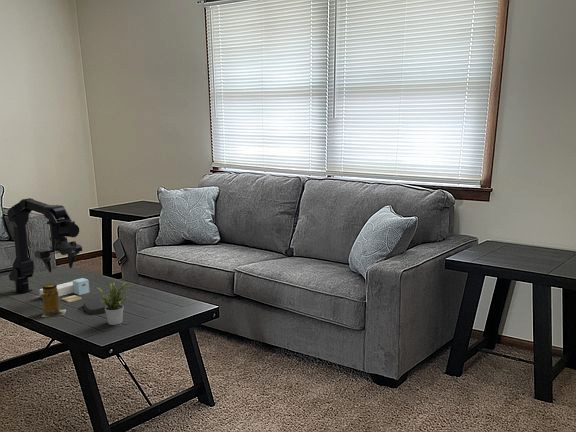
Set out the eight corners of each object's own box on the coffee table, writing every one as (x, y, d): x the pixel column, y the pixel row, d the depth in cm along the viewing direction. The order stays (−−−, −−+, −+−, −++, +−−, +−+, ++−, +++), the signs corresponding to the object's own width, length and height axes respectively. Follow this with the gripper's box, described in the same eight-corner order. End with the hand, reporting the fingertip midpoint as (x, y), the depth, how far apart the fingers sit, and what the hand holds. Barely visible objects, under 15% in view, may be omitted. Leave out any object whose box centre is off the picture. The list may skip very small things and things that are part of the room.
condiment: (44, 311, 225) (42, 283, 223) (66, 309, 227) (64, 282, 225) (41, 317, 218) (38, 288, 216) (63, 315, 220) (61, 287, 218)
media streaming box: (89, 316, 220) (88, 309, 220) (82, 306, 233) (81, 299, 232) (125, 309, 228) (125, 302, 227) (117, 300, 240) (116, 293, 240)
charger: (71, 292, 251) (70, 279, 250) (81, 289, 255) (80, 277, 254) (79, 295, 246) (78, 282, 245) (89, 292, 250) (88, 279, 249)
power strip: (26, 300, 239) (26, 292, 239) (79, 286, 258) (78, 279, 258) (36, 304, 234) (35, 296, 233) (89, 290, 253) (88, 282, 253)
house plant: (144, 322, 212) (141, 281, 209) (111, 332, 202) (109, 290, 199) (124, 314, 222) (121, 275, 219) (92, 323, 211) (89, 282, 209)
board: (61, 299, 240) (61, 298, 240) (74, 296, 244) (74, 295, 244) (69, 302, 236) (68, 301, 236) (81, 299, 241) (81, 297, 241)
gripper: (45, 241, 222) (48, 278, 225) (87, 234, 236) (90, 269, 239) (32, 237, 230) (35, 273, 232) (74, 230, 243) (77, 264, 246)
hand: (60, 270), depth 237 cm, fingers open, 9 cm apart
